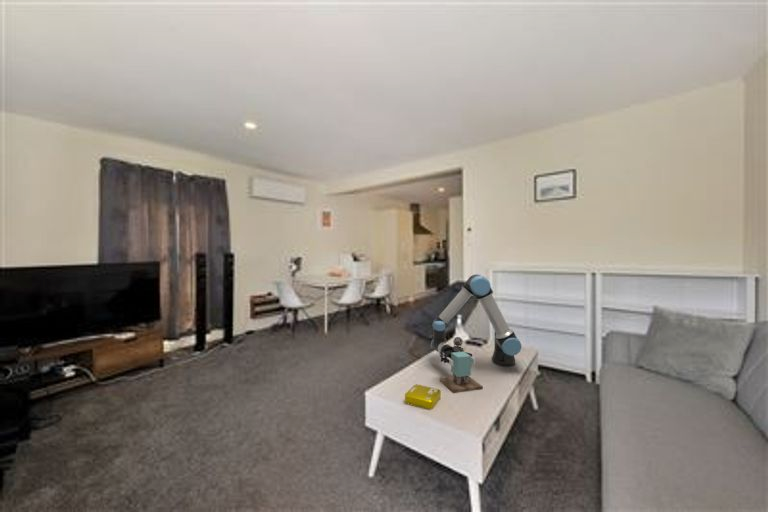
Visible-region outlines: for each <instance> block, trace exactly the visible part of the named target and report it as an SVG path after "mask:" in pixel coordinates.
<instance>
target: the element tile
mask: <svg viewBox="0 0 768 512" xmlns="http://www.w3.org/2000/svg"><path fill="white" fill-rule="evenodd" d="M441 393H442V392H441V390H440V389H438V388H434V387H431V386H426V385H421V384H413V386H412V387H411V388H410V389H409V390H408V391H407V392H406V393H404V402H406V403H405V404H407V403H409V404H408V405H410V404H412V405H411V406H414V405H415V407H419V408H423V409H427V410H432V409H433V410H434V408H435V407H436V405H437V404H438V403H439V402H440V400H441V399H442V398H441V395H442V394H441Z"/></svg>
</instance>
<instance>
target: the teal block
mask: <svg viewBox="0 0 768 512" xmlns="http://www.w3.org/2000/svg"><path fill="white" fill-rule="evenodd" d="M467 353H468V352H467ZM467 353H465V351H464V352H454V353H451V360H453V366H451V365H450V372H451V373H452V374H453V373H454V374H455V375H456V376H457V377H463V376H469V377H471V376H472V362H471V356H470V355H469V354H467Z"/></svg>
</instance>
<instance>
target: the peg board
mask: <svg viewBox="0 0 768 512" xmlns="http://www.w3.org/2000/svg"><path fill="white" fill-rule="evenodd" d="M439 381H440V382H441V383H442V384H443V385H444V386H445V387H446V388H447V389H448V390H449V391H450V392H452V393H453V394H455V393H456V394H457V393H463V392H469V391H470V392H471V391H476V390H477V391H479V390H483V385H482V384H481V383H479V382H478V381H476V380H475V379H474V378H472V377H471V376H463V377H457V376H456V375H455V374H454V373H452V376H449V377H440V378H439Z"/></svg>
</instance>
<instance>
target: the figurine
mask: <svg viewBox="0 0 768 512" xmlns="http://www.w3.org/2000/svg"><path fill="white" fill-rule="evenodd" d="M463 343H464V341H463V339H462V338H461V337H460V336H456V337H454V339H453V345H450V346H451V347H453V349H454V350H455V351H458V350H461V351H463V352H465V350H464V347H462V345H463ZM450 359H451V358H450Z"/></svg>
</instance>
